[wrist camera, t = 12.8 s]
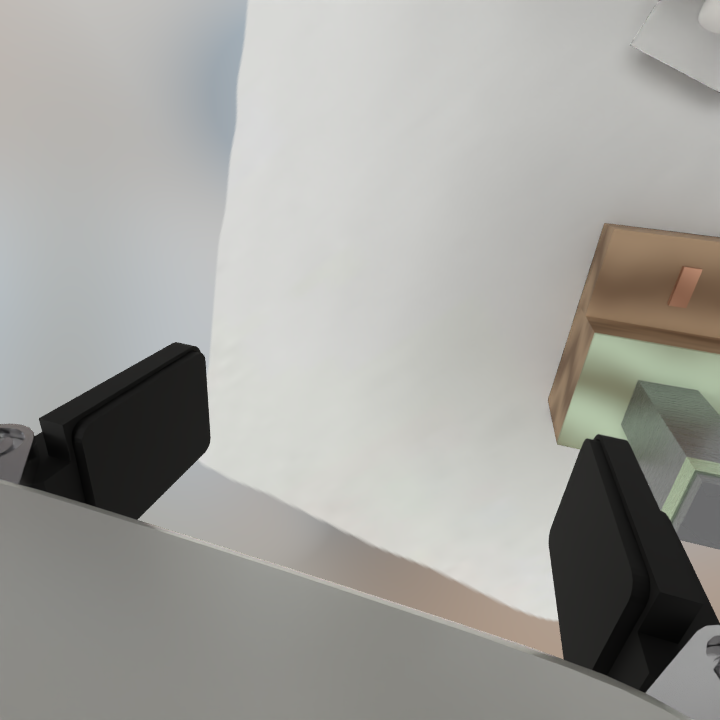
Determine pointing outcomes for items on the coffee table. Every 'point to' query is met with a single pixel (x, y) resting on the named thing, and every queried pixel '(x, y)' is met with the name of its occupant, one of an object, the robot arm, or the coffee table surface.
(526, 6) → the coffee table surface
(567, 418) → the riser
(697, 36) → the figurine
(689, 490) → the column
